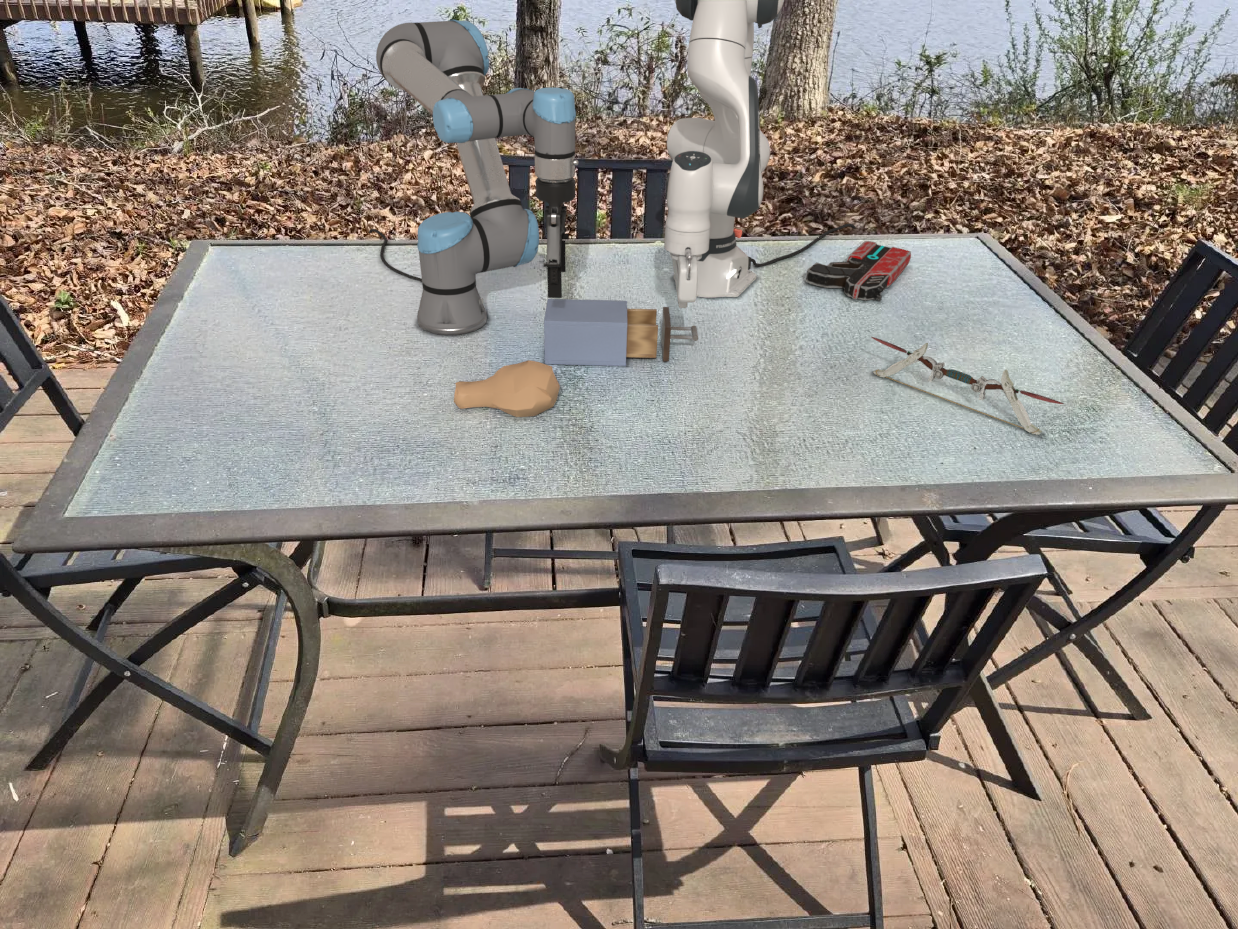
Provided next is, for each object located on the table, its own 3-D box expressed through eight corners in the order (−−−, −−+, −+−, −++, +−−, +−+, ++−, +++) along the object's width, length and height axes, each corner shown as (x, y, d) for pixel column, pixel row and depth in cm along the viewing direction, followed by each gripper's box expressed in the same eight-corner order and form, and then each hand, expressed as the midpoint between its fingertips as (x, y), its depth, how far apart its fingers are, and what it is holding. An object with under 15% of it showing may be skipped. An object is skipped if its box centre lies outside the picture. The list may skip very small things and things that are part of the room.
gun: (803, 270, 216) (880, 289, 208) (845, 233, 238) (916, 249, 230) (800, 287, 219) (876, 306, 211) (842, 249, 240) (912, 265, 233)
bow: (1053, 437, 161) (1070, 389, 156) (1050, 441, 160) (1067, 393, 155) (866, 368, 183) (875, 324, 177) (862, 371, 182) (871, 326, 176)
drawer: (694, 340, 190) (697, 307, 186) (697, 362, 181) (700, 327, 177) (594, 338, 190) (595, 304, 185) (593, 359, 181) (594, 325, 177)
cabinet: (625, 341, 191) (626, 300, 185) (625, 365, 181) (627, 322, 176) (548, 340, 190) (547, 298, 185) (544, 364, 181) (543, 320, 176)
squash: (561, 423, 162) (553, 385, 155) (455, 431, 163) (443, 394, 157) (564, 386, 169) (557, 349, 163) (463, 394, 171) (452, 358, 165)
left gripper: (572, 197, 155) (572, 309, 167) (578, 160, 176) (578, 261, 188) (529, 196, 155) (533, 308, 167) (540, 159, 176) (543, 260, 188)
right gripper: (707, 259, 163) (701, 327, 171) (699, 223, 181) (694, 286, 188) (673, 258, 163) (669, 326, 171) (668, 222, 180) (665, 286, 188)
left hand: (557, 283), depth 177 cm, fingers open, 13 cm apart
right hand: (682, 305), depth 180 cm, fingers closed
